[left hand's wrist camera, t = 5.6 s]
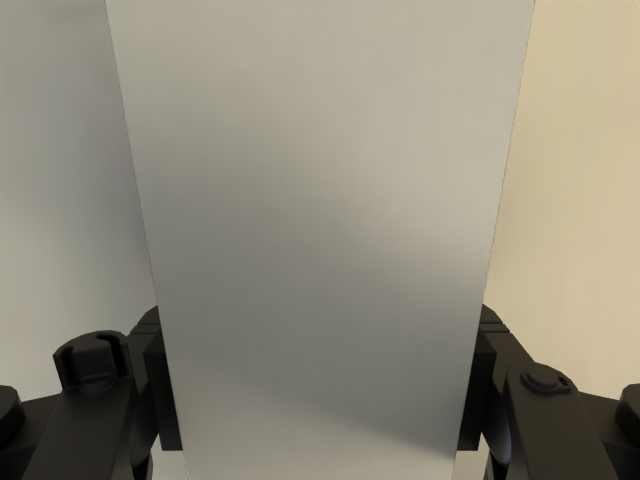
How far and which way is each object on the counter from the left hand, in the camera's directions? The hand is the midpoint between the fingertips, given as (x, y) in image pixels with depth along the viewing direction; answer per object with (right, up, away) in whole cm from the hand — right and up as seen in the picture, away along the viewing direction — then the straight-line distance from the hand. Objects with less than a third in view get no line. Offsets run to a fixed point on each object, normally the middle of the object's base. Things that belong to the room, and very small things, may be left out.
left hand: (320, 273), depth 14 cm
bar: (0, +23, -8) cm, 25 cm away
